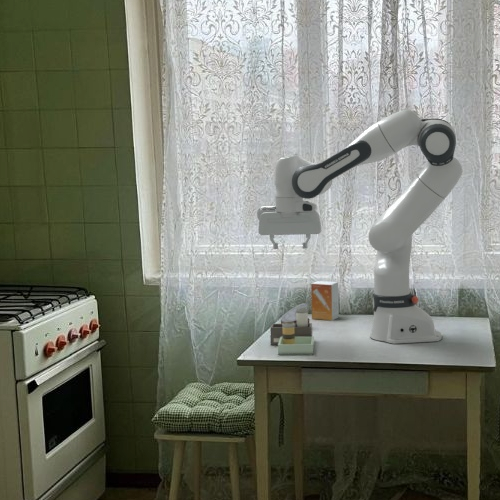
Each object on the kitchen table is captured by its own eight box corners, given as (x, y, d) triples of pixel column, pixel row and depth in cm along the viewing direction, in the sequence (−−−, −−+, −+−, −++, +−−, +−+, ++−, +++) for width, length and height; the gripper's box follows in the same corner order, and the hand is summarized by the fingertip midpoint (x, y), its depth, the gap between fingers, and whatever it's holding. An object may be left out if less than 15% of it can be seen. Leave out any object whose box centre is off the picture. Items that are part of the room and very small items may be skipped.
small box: (311, 319, 298) (310, 283, 296) (318, 315, 304) (317, 280, 302) (332, 320, 294) (331, 284, 293) (339, 317, 300) (338, 281, 298)
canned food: (306, 343, 282) (306, 321, 276) (278, 339, 285) (277, 317, 279) (313, 322, 291) (313, 299, 285) (285, 318, 293) (284, 296, 288)
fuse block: (312, 340, 267) (312, 323, 266) (311, 344, 261) (311, 327, 260) (272, 340, 268) (271, 323, 268) (270, 344, 262) (270, 327, 262)
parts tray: (314, 345, 259) (313, 336, 259) (312, 354, 249) (312, 344, 248) (280, 346, 260) (280, 336, 260) (278, 354, 250) (277, 344, 250)
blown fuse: (295, 349, 253) (294, 323, 252) (283, 350, 253) (282, 324, 252) (295, 346, 256) (294, 321, 255) (283, 347, 256) (282, 321, 255)
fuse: (308, 331, 265) (307, 307, 264) (308, 334, 262) (307, 309, 261) (297, 331, 266) (296, 307, 265) (296, 334, 262) (295, 309, 261)
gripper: (256, 207, 265) (257, 250, 266) (320, 205, 262) (321, 249, 264) (257, 205, 271) (259, 247, 273) (320, 204, 269) (321, 246, 270)
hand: (290, 248), depth 268 cm, fingers open, 8 cm apart
